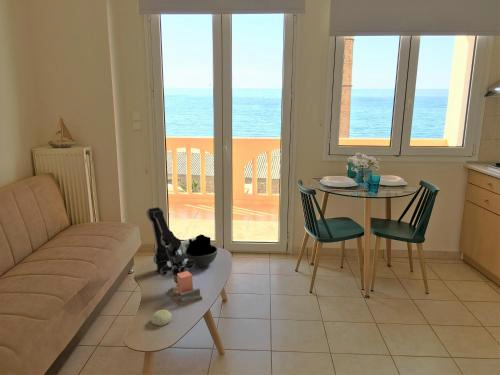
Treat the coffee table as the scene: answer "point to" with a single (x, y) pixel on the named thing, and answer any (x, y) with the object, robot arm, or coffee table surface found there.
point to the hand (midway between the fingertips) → (182, 281)
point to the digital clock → (185, 245)
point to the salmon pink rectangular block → (184, 282)
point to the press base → (185, 296)
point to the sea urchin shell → (161, 317)
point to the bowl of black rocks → (201, 251)
